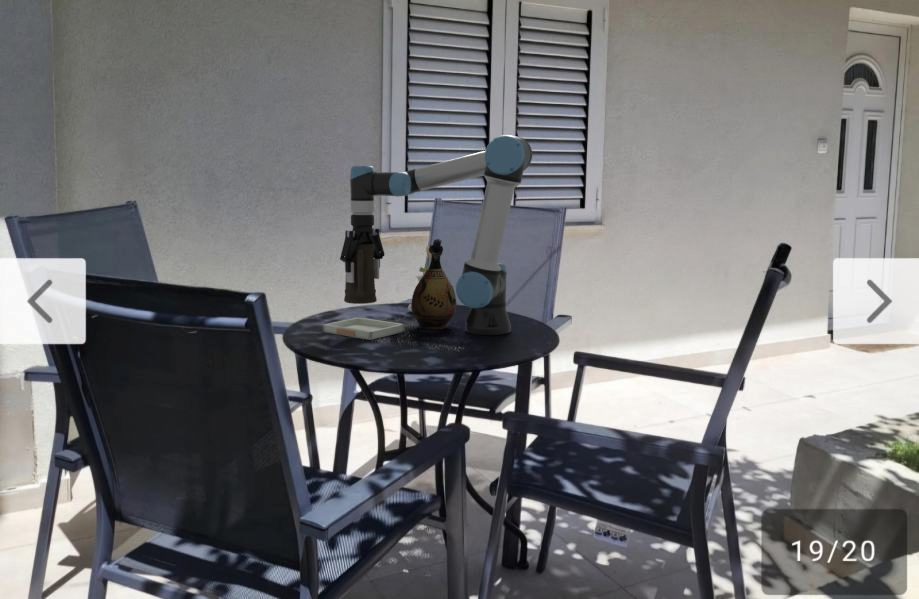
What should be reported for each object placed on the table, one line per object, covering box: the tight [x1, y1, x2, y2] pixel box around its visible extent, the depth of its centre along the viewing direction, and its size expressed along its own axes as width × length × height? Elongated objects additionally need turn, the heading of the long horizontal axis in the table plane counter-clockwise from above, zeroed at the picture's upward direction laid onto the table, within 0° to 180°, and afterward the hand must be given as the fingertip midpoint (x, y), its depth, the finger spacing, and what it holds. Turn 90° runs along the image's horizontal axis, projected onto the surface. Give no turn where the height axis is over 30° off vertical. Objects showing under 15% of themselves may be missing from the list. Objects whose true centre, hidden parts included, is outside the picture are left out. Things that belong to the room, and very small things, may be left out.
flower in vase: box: [407, 245, 432, 312], centre depth 317 cm, size 13×11×25 cm
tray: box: [322, 316, 406, 341], centre depth 280 cm, size 17×21×2 cm
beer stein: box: [343, 242, 378, 305], centre depth 277 cm, size 15×11×20 cm
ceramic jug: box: [410, 238, 457, 331], centre depth 288 cm, size 17×15×30 cm
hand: (363, 280), depth 278 cm, fingers closed on beer stein, 11 cm apart
